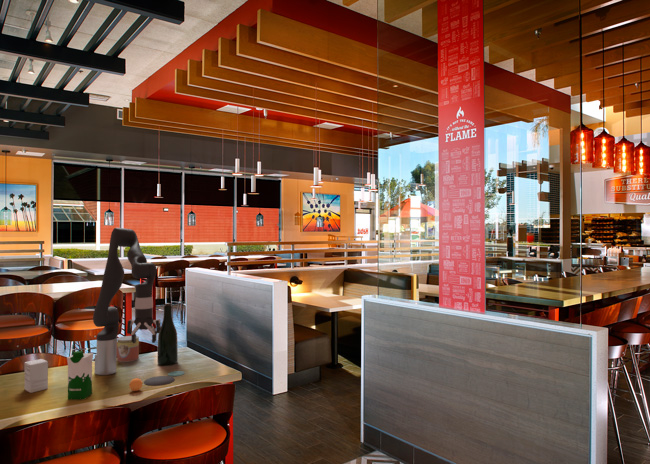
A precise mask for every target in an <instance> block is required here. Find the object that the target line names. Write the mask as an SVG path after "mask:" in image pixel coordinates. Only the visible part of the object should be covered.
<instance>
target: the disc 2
mask: <svg viewBox="0 0 650 464" xmlns="http://www.w3.org/2000/svg"><path fill="white" fill-rule="evenodd" d="M183 375H185V371H182V370H175V371H170V372H168V373H167V376H171V377H179V376H183Z"/></svg>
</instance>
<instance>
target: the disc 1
mask: <svg viewBox="0 0 650 464" xmlns="http://www.w3.org/2000/svg"><path fill="white" fill-rule="evenodd" d="M175 379H176V378H175V376H169V375H158V376H152V377H149V378H146V379H145V380H144V381H143V384H144V385H146V386H151V387H153V386H154V387H156V386H164V385H168V384H171V383H173V382H174V381H175Z"/></svg>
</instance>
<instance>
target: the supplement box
mask: <svg viewBox="0 0 650 464" xmlns="http://www.w3.org/2000/svg"><path fill="white" fill-rule="evenodd" d="M48 367H49V362H48V360H45V359H43V358H40V359H39V358H38V359H34V360H28V361H25V362H24V391H26V392H28V393H30V394H31V393H36V392H39V391H43V390H48V389H49V368H48Z"/></svg>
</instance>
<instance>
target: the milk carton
mask: <svg viewBox="0 0 650 464" xmlns="http://www.w3.org/2000/svg"><path fill="white" fill-rule="evenodd" d="M93 359H94V353H93V352H91V353H87V352H86V353H84V350H77V351H73V352H72V355H70V356H68V357H66V361H67V400H85V399H87V398H89V396H91V395H92V394H93Z"/></svg>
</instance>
